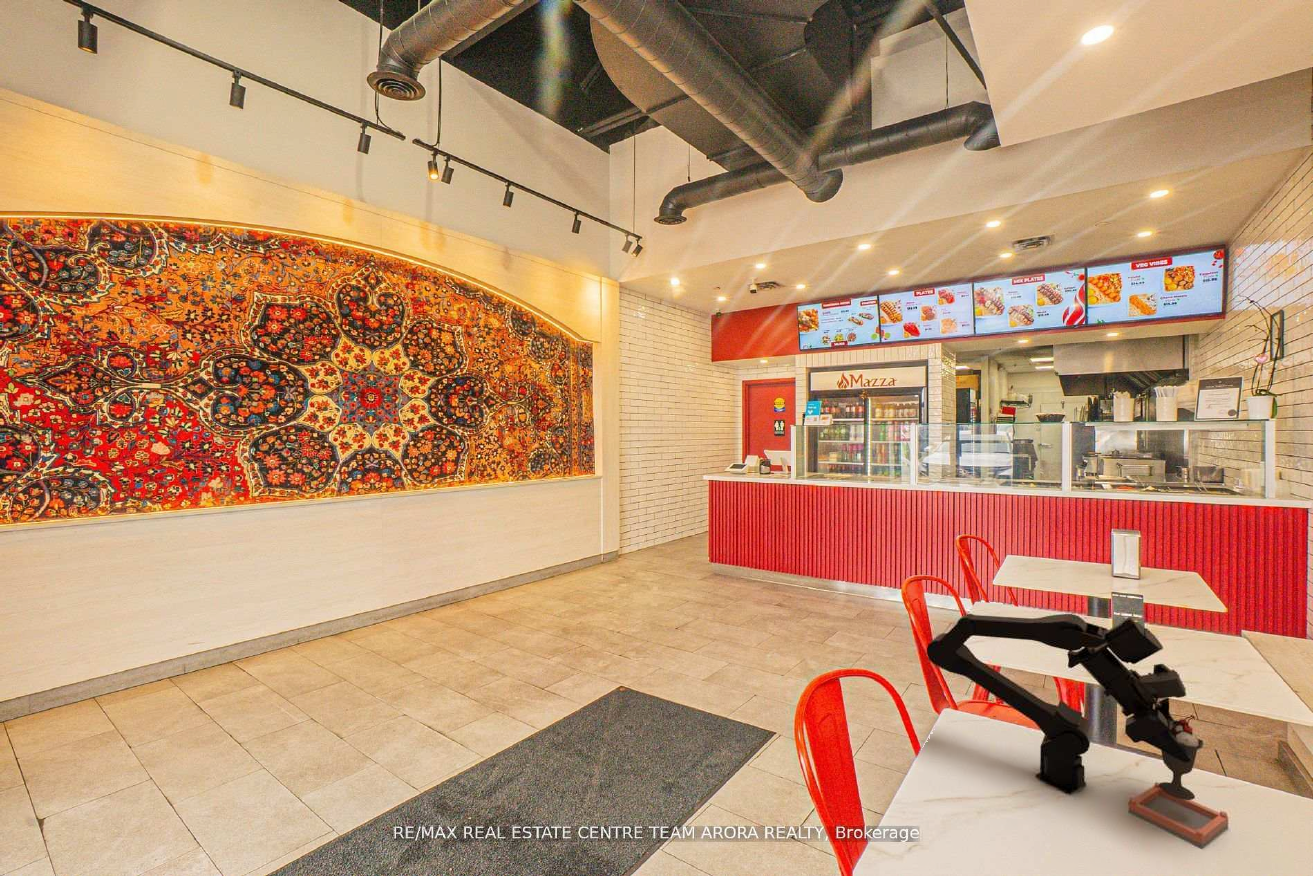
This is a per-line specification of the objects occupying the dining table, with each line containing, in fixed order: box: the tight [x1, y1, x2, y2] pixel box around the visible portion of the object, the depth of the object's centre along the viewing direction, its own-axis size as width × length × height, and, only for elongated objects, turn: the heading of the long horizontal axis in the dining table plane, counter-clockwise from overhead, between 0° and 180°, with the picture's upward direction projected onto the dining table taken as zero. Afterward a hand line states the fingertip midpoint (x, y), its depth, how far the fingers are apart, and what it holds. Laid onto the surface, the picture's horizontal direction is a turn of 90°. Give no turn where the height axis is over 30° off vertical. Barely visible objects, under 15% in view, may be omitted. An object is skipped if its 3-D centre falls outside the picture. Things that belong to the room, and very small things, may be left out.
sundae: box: [1159, 714, 1204, 801], centre depth 107 cm, size 7×7×15 cm
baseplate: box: [1128, 781, 1229, 849], centre depth 107 cm, size 11×11×3 cm
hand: (1187, 753), depth 106 cm, fingers closed on sundae, 6 cm apart
